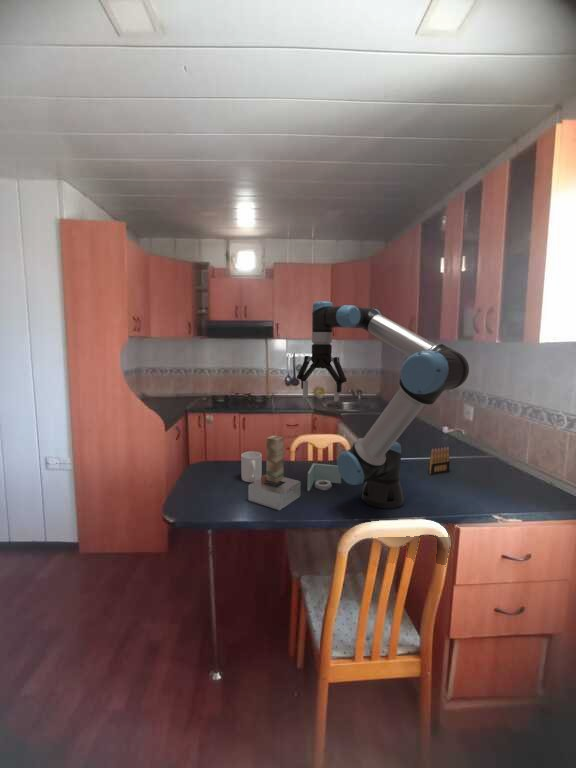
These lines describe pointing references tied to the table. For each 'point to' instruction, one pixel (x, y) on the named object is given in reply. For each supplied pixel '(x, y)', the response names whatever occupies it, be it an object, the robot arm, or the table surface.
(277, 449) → the column
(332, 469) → the right angle wall
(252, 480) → the mug
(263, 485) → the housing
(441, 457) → the ammunition clip
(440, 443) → the table surface
